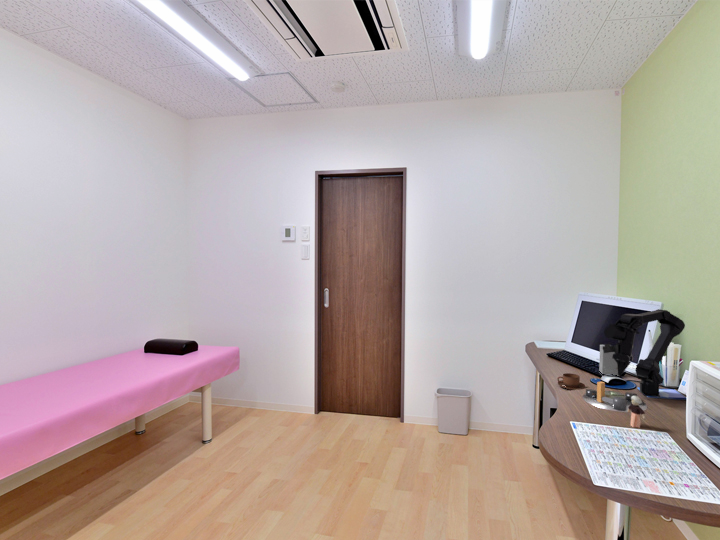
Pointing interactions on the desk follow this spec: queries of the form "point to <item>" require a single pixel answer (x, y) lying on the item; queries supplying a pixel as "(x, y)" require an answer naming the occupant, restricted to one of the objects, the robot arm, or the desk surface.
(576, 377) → the cup and saucer
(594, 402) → the levelling plate
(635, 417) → the grandmother figurine
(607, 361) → the skincare box
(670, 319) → the robot arm
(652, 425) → the desk surface
